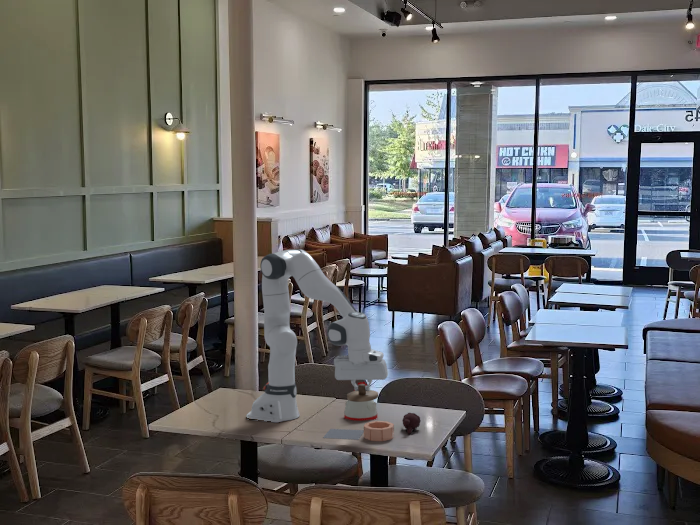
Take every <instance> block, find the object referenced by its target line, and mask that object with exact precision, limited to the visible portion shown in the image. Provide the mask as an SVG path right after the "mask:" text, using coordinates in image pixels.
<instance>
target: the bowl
mask: <svg viewBox="0 0 700 525" xmlns="http://www.w3.org/2000/svg"><path fill="white" fill-rule="evenodd" d="M363 430H364V433H363V438H364V439H366V440H368V441H371V442H385V441H391V440H392V439H393V438H394V437H395V424H394V423H392V422H390V421H386V420H384V421H383V420H372V421H369V422H368V421H367V422H366V423H364V425H363Z"/></svg>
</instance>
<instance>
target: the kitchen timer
mask: <svg viewBox="0 0 700 525" xmlns="http://www.w3.org/2000/svg"><path fill="white" fill-rule="evenodd" d="M359 384H365V386H368V383H366V381H365V380H362V381H359V382H357V386H358V385H359ZM353 391H355V389H353ZM343 413H344V416H343V417H344V419H345V420H349V421H356V422H357V421H358V422H359V421H360V422H362V421H369V420H370V421H375V420H377V419H378V410H377V402H376V401H375V399H374V400H371V401H365V402H353V401H349V400H348V399H347V400H346V401H345V408H344V412H343ZM376 418H377V419H376ZM374 419H375V420H374Z"/></svg>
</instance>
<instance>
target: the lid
mask: <svg viewBox="0 0 700 525" xmlns="http://www.w3.org/2000/svg"><path fill="white" fill-rule="evenodd" d="M365 384H366V383H365ZM365 384H359V385H358V384H357V386H358V390H359V391H354V390H353V391H349V392H347V394H346V399H347V401H348V400H349V401H353V402H365V401H371V400H374V401H375V400H376V399H377V398H379V392H378V391H376V390H372V389H370V391H365Z"/></svg>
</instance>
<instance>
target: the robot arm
mask: <svg viewBox="0 0 700 525" xmlns="http://www.w3.org/2000/svg"><path fill="white" fill-rule="evenodd" d="M260 271H261V273H262V274H261V275H262V278H261V292H262V302H263V311H264V315H263V316H264V317H263V318H264V320H263V321H264V323H263V331H264V336H263V337H264V341H265V343H266V344H267V346H268V347H269V349H270V350H269V361H268V365H267V369H268V382H267V383H266V384H265V385H264V386H263V390H264V392H263V393H262V394H261V395H260V396H259V397H257V398H256V399H255V400H254V401H253V403H252V404H251V409H250V410H251V411H249V412H248V413H247V414H246V417H247V418H251V419H258V420H264V421H263V422H267V421H271V422H270V423H279V422H285V421H291V420H295V419H297V418H299V417H300V411H299V408H298V403H297V384H296V381H295V380H296V379H295V378H296V377H295V372H296V371H295V370H296V369H295V364H296V363H295V361H296V354H297V347H298V338H297V334H296V333H295V332H294V330H292V329H291V326H290V322H291V321H290V320H291V319H290V318H291V317H290V316H291V310H292V308H291V301H290V300H291V298H290V293H289V292H290V291H289V282H288V281H289V278H291V277H293V279H294V280H295V282H296V284H297V285H298V288H299V289H300V291H301V293H302V294H303V295H304V296H305V297H307V298H308V299H311V300H316V301H321V302H326V303H329V304H331V305H332V306H334V308H335V309H336V311H338V313H339V314H340V315H341V317H342V318H341V319H339V320H336V321H333V322H331V323H329V325H328V327H327V329H326V335H327V339H328V341H329V342H330V343H331V344H332V345H334V346H338V347H340V346H345V345H346V346H347V354H346V355H337V356H335V357H334V359H333V365H334V367H335V368H334V379H336V380H337V381H350V382H351V383H350V384H352V386H353V387H354V388H353V390H355V391H359V390H358V384H357V383H356V381H367V386H365V391H370V390H371V385H372V382H373V380H374V381H376V380H377V381H378V380H379V381H380V380H382V381H383V380H386V379H387V378H388V376H389V371H388V366H387V363H386V360H385V359H384V355H385V354H384V353H383V352H382V351H378V350H375V349H372V345H371V343H370V338H371V331H370V323H369V319H368V317H367V315H366V314H365V313H363V312H359V311H358V310H357V309H356V308H355V307H354V305H353V304H352V303H351V301H350V300H349V298H348V297H347V296H346V295H345V293H344V292H343V291H342V290H341V289H340V287H338V286H337V285H336V284H335V283H333V282H332V281H331V280H330V279H329V278H328V277H327V275H325V273H324V272H323V270H322V269H321V267H320V265H319V264H318V263H317V262H316V260H315V259H314V258H313V257H312V255H311V254H309V253H308V252H307V251H306V250H305V249H301V248H294V249H285V250H281V251H277V252H274V253H268V254H266V255H264V256H263V258H261V260H260ZM246 417H245V418H246ZM258 420H257V421H258Z"/></svg>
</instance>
